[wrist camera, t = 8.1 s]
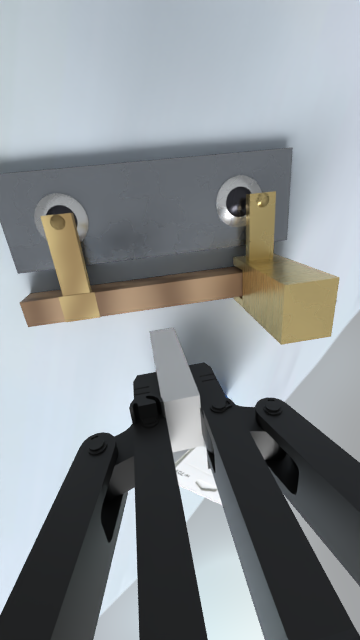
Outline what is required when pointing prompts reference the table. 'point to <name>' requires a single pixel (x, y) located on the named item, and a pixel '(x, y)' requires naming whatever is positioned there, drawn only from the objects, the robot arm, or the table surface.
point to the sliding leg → (282, 282)
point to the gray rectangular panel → (143, 205)
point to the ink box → (196, 472)
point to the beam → (115, 284)
